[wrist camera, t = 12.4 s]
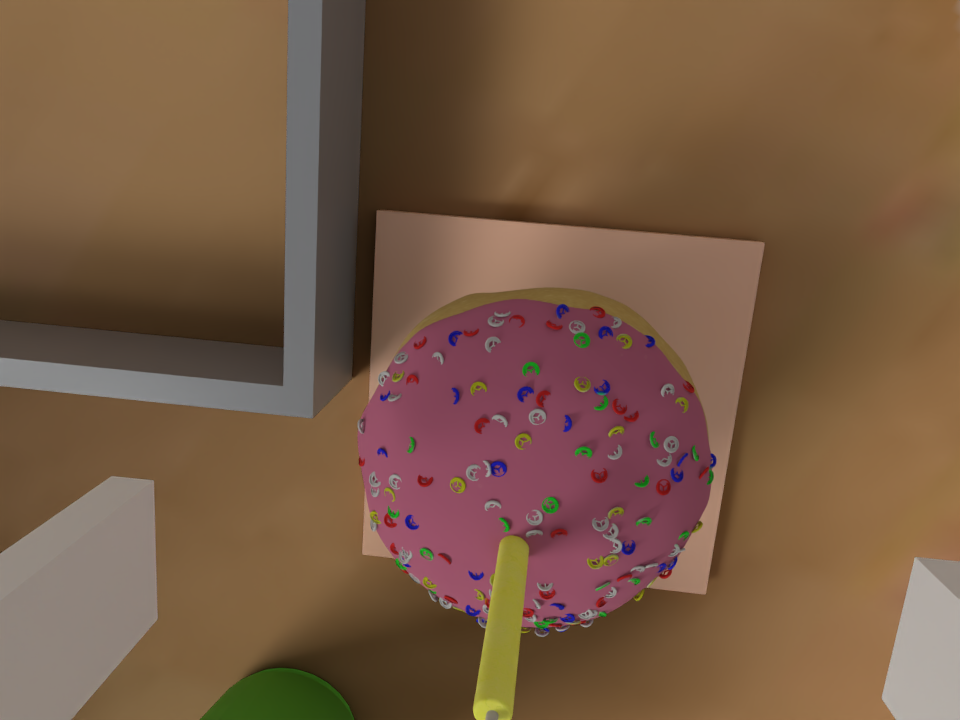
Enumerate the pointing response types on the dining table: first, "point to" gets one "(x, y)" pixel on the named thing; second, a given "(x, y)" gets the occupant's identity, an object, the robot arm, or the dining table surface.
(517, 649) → the cupcake
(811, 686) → the dining table surface
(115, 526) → the robot arm
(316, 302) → the corral
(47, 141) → the dining table surface
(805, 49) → the dining table surface
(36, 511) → the dining table surface
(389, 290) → the plate
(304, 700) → the cup
